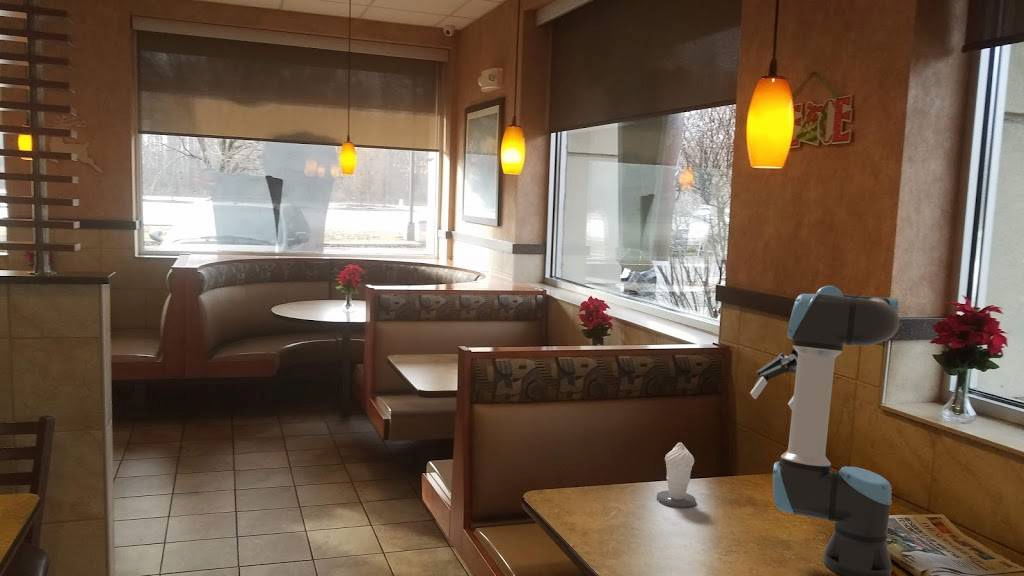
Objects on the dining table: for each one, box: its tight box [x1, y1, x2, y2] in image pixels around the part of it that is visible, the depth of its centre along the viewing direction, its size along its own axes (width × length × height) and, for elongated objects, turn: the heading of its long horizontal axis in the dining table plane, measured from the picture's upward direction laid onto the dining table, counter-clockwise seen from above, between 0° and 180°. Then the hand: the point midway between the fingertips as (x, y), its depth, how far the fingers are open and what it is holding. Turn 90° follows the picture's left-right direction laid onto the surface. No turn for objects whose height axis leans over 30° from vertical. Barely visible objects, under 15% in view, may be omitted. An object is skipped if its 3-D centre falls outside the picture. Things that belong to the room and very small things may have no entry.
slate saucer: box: [656, 490, 697, 509], centre depth 233 cm, size 11×11×1 cm
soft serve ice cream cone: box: [664, 442, 695, 500], centre depth 232 cm, size 8×8×16 cm
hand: (771, 401), depth 233 cm, fingers open, 13 cm apart
